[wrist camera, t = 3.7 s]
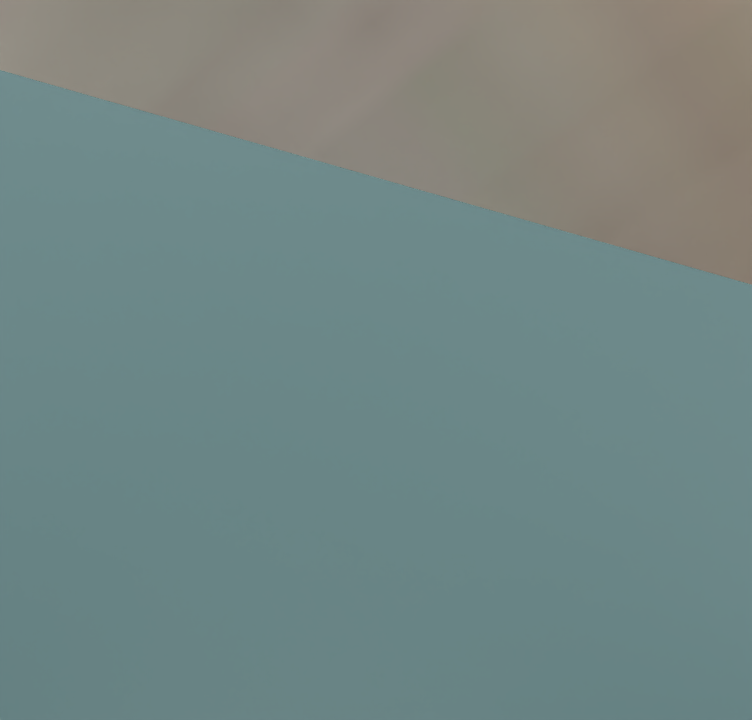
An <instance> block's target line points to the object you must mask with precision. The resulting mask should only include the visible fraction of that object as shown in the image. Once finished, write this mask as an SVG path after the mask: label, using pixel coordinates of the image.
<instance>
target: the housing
mask: <svg viewBox="0 0 752 720" xmlns="http://www.w3.org/2000/svg"><path fill="white" fill-rule="evenodd" d="M0 720H752V285H751V284H747V283H744V282H740V281H737V280H733V279H730V278H726V277H723V276H719V275H716V274H712V273H709V272H705V271H702V270H698V269H695V268H691V267H688V266H684V265H681V264H677V263H674V262H670V261H667V260H663V259H660V258H656V257H653V256H649V255H646V254H642V253H639V252H635V251H632V250H628V249H625V248H621V247H618V246H614V245H611V244H607V243H604V242H600V241H597V240H593V239H590V238H586V237H583V236H579V235H575V234H572V233H568V232H565V231H561V230H558V229H554V228H551V227H547V226H544V225H540V224H537V223H533V222H530V221H526V220H523V219H519V218H516V217H512V216H509V215H505V214H502V213H498V212H495V211H491V210H488V209H484V208H481V207H477V206H474V205H470V204H467V203H463V202H460V201H456V200H453V199H449V198H446V197H442V196H439V195H435V194H432V193H428V192H425V191H421V190H418V189H414V188H411V187H407V186H404V185H400V184H397V183H393V182H390V181H386V180H383V179H379V178H376V177H372V176H369V175H365V174H362V173H358V172H355V171H351V170H348V169H344V168H341V167H337V166H334V165H330V164H327V163H323V162H320V161H316V160H313V159H309V158H306V157H302V156H299V155H295V154H292V153H288V152H285V151H281V150H278V149H274V148H271V147H267V146H264V145H260V144H257V143H253V142H250V141H246V140H243V139H239V138H236V137H232V136H229V135H225V134H222V133H218V132H215V131H211V130H208V129H204V128H201V127H197V126H194V125H190V124H187V123H183V122H180V121H176V120H173V119H169V118H166V117H162V116H159V115H155V114H152V113H148V112H145V111H141V110H138V109H134V108H131V107H127V106H124V105H120V104H117V103H113V102H110V101H106V100H103V99H99V98H96V97H92V96H89V95H85V94H82V93H78V92H75V91H71V90H68V89H64V88H61V87H57V86H54V85H50V84H47V83H43V82H40V81H36V80H33V79H29V78H26V77H22V76H19V75H15V74H12V73H8V72H5V71H1V70H0Z"/></svg>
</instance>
